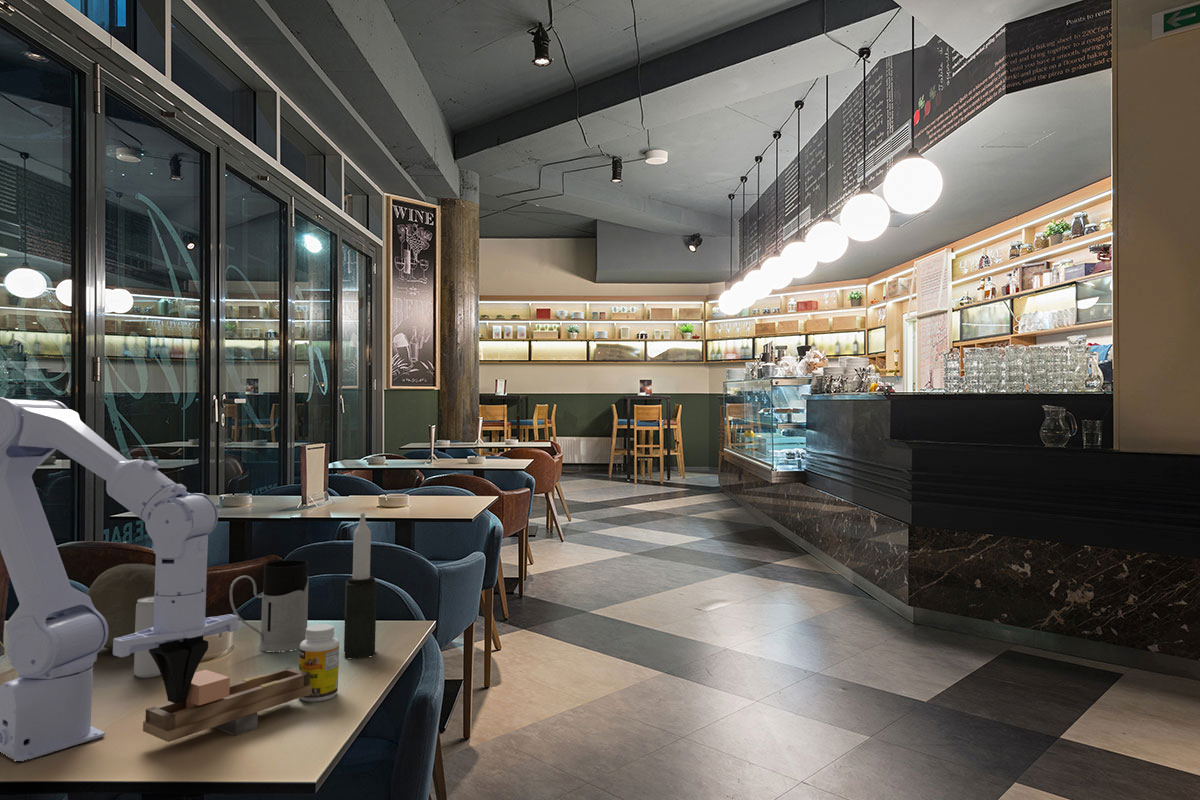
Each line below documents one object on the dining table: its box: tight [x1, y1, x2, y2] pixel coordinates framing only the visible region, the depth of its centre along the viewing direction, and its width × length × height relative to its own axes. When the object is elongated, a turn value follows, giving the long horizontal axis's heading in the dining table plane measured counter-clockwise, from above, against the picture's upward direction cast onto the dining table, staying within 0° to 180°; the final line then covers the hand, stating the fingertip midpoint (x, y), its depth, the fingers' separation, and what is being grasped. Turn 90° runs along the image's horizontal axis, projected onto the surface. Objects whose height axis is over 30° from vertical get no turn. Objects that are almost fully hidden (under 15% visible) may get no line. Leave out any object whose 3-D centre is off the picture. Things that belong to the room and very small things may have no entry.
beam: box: [142, 666, 312, 743], centre depth 99 cm, size 20×6×5 cm, turn 148°
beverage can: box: [133, 596, 162, 679], centre depth 120 cm, size 5×5×12 cm
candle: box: [343, 512, 378, 659], centre depth 132 cm, size 5×5×25 cm
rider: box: [186, 669, 231, 709], centre depth 96 cm, size 4×6×4 cm
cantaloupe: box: [85, 563, 156, 651], centre depth 134 cm, size 14×14×15 cm
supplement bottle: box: [298, 623, 340, 703], centre depth 111 cm, size 6×6×10 cm
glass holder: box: [229, 559, 309, 653], centre depth 135 cm, size 9×14×15 cm, turn 137°
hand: (177, 700), depth 93 cm, fingers closed
